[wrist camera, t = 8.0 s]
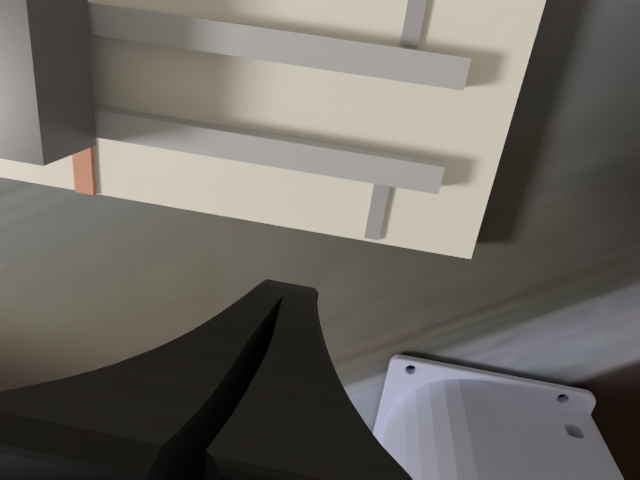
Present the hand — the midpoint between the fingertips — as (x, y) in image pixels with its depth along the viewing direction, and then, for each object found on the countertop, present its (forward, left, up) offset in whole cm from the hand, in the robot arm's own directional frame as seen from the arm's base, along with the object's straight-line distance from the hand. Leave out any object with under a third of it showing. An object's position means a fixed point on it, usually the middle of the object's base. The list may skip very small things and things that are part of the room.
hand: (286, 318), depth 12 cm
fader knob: (+11, -4, -8) cm, 14 cm away
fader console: (+5, -4, -9) cm, 11 cm away
